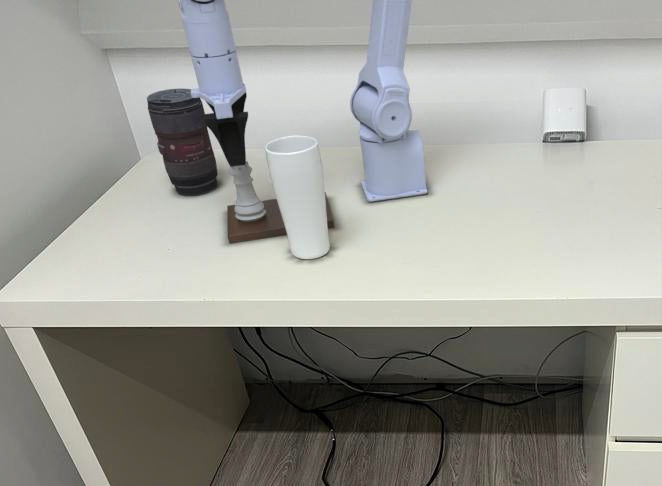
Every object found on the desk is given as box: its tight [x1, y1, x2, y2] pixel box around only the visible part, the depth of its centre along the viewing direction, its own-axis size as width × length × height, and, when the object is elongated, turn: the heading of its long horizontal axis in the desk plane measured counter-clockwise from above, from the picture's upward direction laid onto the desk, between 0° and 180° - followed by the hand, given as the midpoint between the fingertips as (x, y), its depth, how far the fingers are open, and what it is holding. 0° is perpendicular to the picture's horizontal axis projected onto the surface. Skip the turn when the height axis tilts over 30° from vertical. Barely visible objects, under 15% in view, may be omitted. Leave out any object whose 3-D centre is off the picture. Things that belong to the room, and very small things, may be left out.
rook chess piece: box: [228, 160, 266, 222], centre depth 107 cm, size 4×4×8 cm
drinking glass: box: [264, 135, 331, 260], centre depth 98 cm, size 7×7×15 cm
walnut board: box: [226, 191, 336, 244], centre depth 111 cm, size 15×11×1 cm
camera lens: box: [146, 88, 219, 197], centre depth 118 cm, size 8×8×15 cm
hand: (237, 155), depth 104 cm, fingers open, 7 cm apart
